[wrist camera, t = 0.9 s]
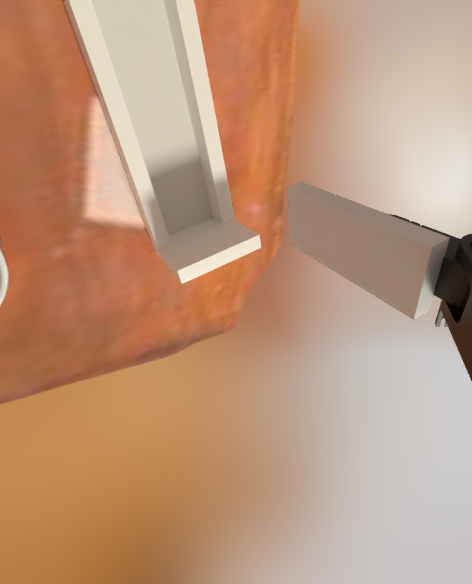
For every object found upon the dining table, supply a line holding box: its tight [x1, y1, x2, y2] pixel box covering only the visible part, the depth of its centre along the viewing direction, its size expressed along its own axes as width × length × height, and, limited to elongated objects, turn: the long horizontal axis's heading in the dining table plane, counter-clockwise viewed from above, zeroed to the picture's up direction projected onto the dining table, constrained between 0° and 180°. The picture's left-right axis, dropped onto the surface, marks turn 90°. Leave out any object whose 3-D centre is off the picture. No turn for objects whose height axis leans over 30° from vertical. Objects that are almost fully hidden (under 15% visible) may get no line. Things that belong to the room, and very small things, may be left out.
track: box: [63, 0, 261, 284], centre depth 30 cm, size 22×9×8 cm, turn 11°
